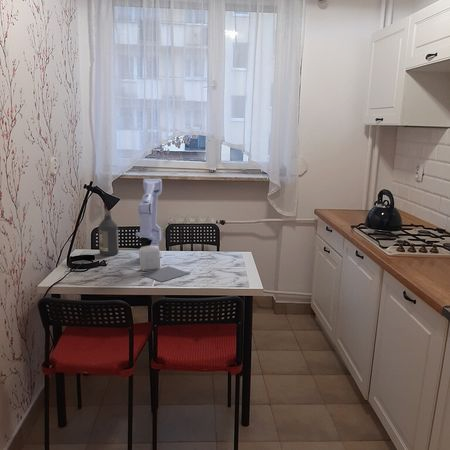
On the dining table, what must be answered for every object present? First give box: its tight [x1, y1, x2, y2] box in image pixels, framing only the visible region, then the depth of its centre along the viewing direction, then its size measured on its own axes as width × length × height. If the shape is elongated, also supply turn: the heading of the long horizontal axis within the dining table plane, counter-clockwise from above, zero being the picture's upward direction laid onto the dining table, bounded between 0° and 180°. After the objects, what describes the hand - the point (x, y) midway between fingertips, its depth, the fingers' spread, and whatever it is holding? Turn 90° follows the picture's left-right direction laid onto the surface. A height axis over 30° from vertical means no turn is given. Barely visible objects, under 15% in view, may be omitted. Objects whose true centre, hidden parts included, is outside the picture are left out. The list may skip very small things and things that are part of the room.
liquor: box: [98, 203, 119, 257], centre depth 250 cm, size 9×9×30 cm
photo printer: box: [138, 246, 161, 271], centre depth 225 cm, size 10×4×12 cm, turn 98°
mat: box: [140, 265, 190, 283], centre depth 219 cm, size 16×18×1 cm
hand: (146, 252), depth 227 cm, fingers closed
